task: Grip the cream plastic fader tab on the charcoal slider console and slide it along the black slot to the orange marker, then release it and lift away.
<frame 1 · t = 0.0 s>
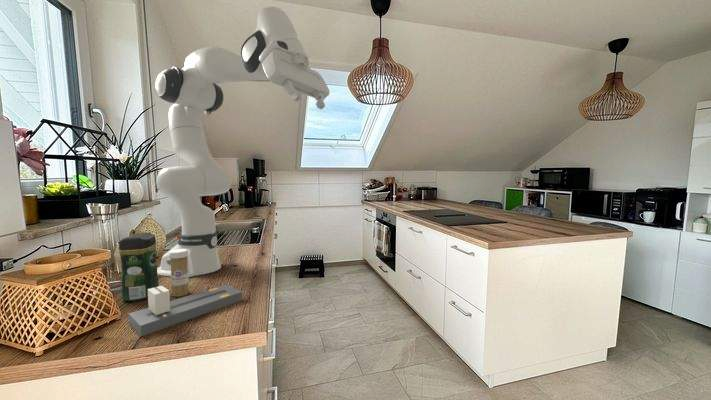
hand: (310, 103, 73), 54 cm above the countertop, tool tilted 30°, fingers open, 8 cm apart
fader tab: (158, 299, 69), point 5 cm above the countertop, slide at -7.0 cm
slider console: (190, 310, 75), on the countertop
coffee jar: (140, 296, 84), on the countertop
sprinkles bottle: (180, 294, 85), on the countertop
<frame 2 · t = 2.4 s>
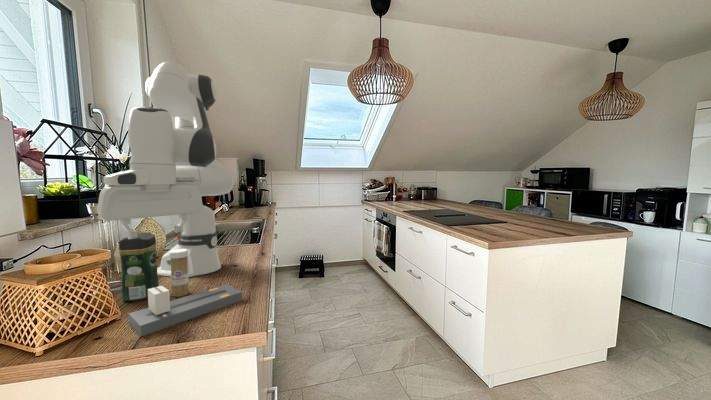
hand: (157, 235, 68), 21 cm above the countertop, tool pointing down, fingers open, 8 cm apart
nothing on the countertop moved.
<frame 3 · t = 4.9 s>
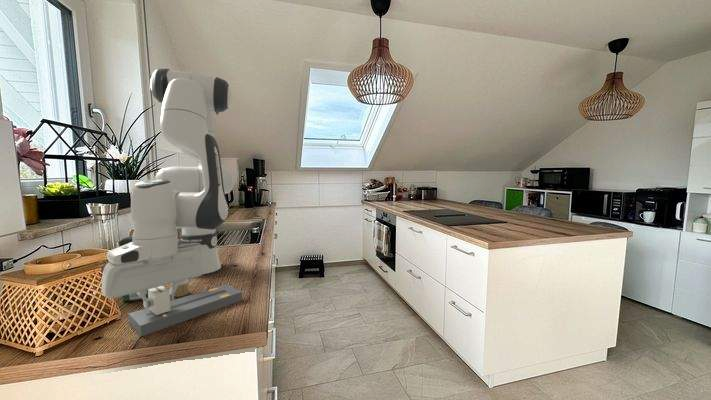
hand: (159, 303, 69), 4 cm above the countertop, tool pointing down, fingers closed on fader tab, 3 cm apart
fader tab: (159, 299, 69), point 5 cm above the countertop, slide at -7.0 cm, touching gripper
everything else where it was.
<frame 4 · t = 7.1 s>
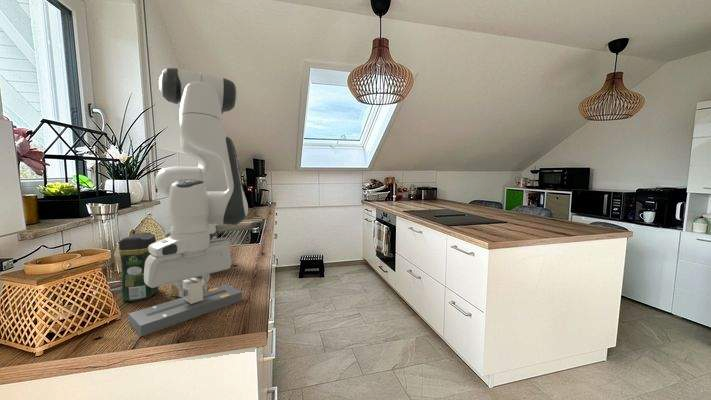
hand: (192, 293, 75), 5 cm above the countertop, tool pointing down, fingers closed on fader tab, 3 cm apart
fader tab: (192, 290, 75), point 5 cm above the countertop, slide at 0.7 cm, touching gripper
everything else where it was.
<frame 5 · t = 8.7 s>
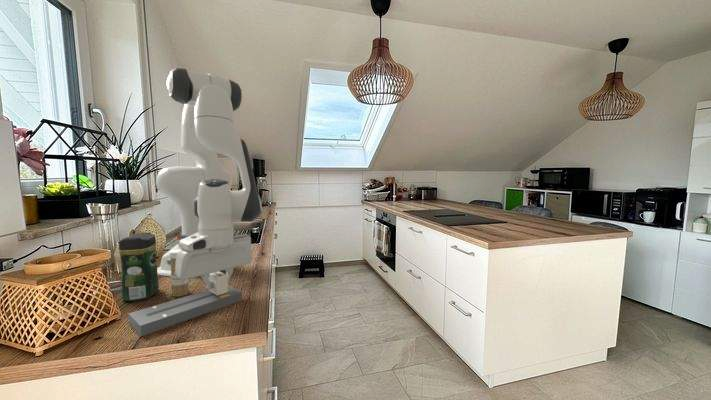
hand: (218, 286, 80), 4 cm above the countertop, tool pointing down, fingers closed on fader tab, 3 cm apart
fader tab: (218, 282, 80), point 5 cm above the countertop, slide at 7.4 cm, touching gripper
everything else where it was.
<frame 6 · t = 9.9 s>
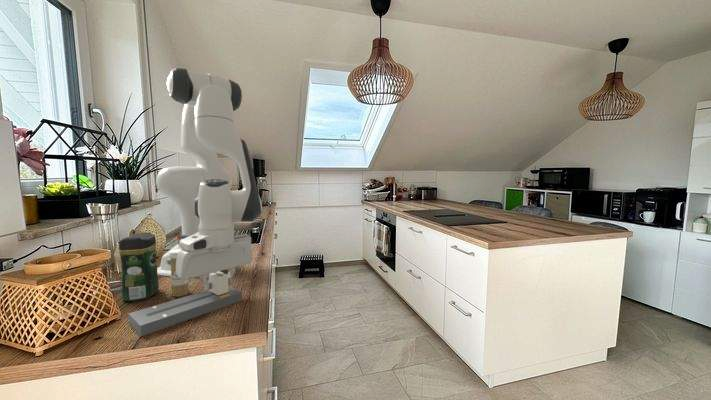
hand: (218, 285, 80), 4 cm above the countertop, tool pointing down, fingers open, 4 cm apart
fader tab: (218, 282, 80), point 5 cm above the countertop, slide at 7.5 cm
everything else where it was.
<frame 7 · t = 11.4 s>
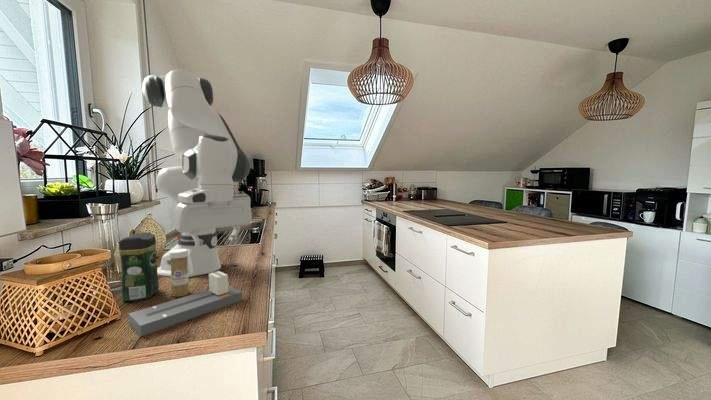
hand: (216, 243, 80), 17 cm above the countertop, tool pointing down, fingers open, 8 cm apart
nothing on the countertop moved.
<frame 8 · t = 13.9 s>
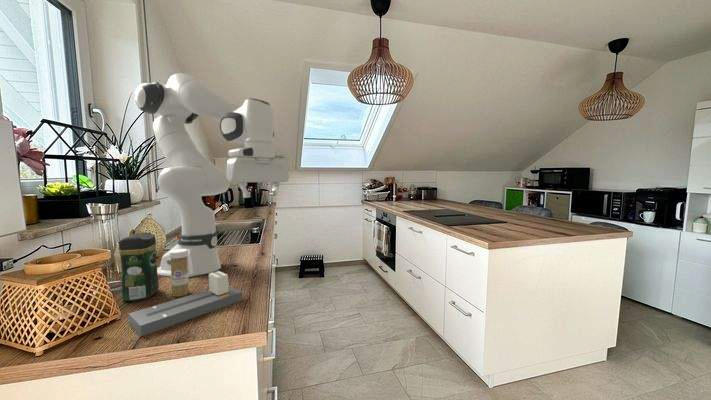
hand: (260, 196, 89), 29 cm above the countertop, tool pointing down, fingers open, 8 cm apart
nothing on the countertop moved.
at the end: fader tab slide at 7.5 cm; the gripper is holding nothing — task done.
